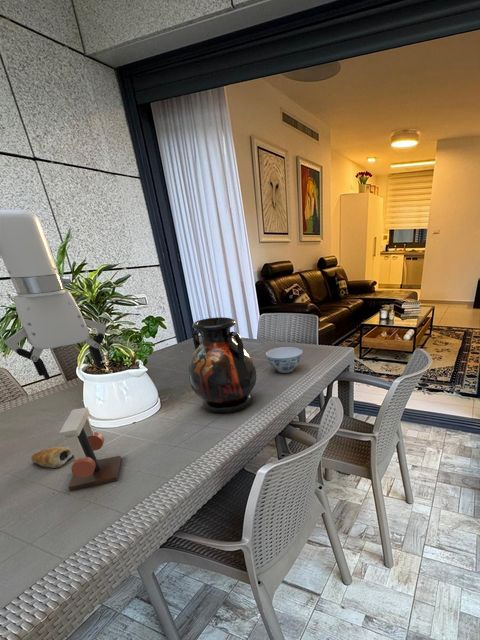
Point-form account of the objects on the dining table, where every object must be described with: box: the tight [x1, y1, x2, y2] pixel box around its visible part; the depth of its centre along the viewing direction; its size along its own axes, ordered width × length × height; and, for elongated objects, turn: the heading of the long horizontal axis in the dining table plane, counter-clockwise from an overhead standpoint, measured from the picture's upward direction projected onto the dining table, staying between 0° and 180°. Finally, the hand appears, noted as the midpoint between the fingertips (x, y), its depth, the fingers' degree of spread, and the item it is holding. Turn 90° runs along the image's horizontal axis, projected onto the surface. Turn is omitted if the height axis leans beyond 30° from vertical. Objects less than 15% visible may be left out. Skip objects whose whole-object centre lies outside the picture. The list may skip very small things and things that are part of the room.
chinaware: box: [265, 346, 303, 374], centre depth 147 cm, size 15×15×8 cm
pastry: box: [31, 446, 74, 469], centre depth 93 cm, size 9×7×4 cm
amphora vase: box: [188, 316, 258, 414], centre depth 114 cm, size 22×22×28 cm
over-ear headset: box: [59, 406, 105, 477], centre depth 83 cm, size 4×14×12 cm, turn 20°
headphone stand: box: [68, 428, 123, 492], centre depth 84 cm, size 10×10×14 cm
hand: (73, 371), depth 75 cm, fingers open, 9 cm apart
